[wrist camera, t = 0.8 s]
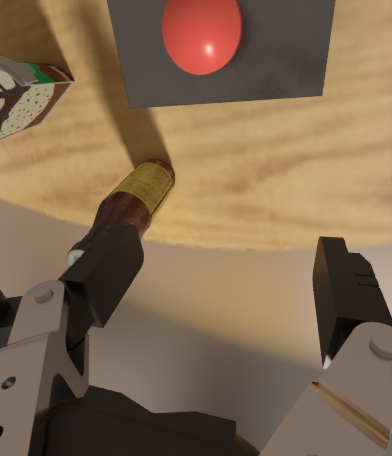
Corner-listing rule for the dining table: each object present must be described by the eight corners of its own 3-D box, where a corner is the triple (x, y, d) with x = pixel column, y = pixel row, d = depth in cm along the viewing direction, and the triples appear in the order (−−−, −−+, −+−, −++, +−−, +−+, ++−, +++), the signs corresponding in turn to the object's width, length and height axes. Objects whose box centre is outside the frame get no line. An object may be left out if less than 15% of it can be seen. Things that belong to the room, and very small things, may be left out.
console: (334, -65, 24) (347, -93, 19) (315, 87, 30) (322, 95, 26) (128, -23, 29) (99, -36, 24) (150, 99, 36) (129, 108, 31)
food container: (44, 28, 34) (-28, 24, 26) (80, 73, 36) (23, 82, 28) (4, 93, 40) (-64, 106, 32) (37, 128, 42) (-19, 149, 34)
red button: (248, -15, 24) (238, -32, 18) (248, 65, 27) (239, 71, 21) (182, -4, 25) (155, -16, 20) (189, 71, 29) (168, 78, 23)
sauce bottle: (136, 155, 41) (43, 228, 25) (176, 159, 39) (106, 239, 23) (141, 194, 44) (63, 280, 28) (177, 199, 43) (118, 292, 27)
